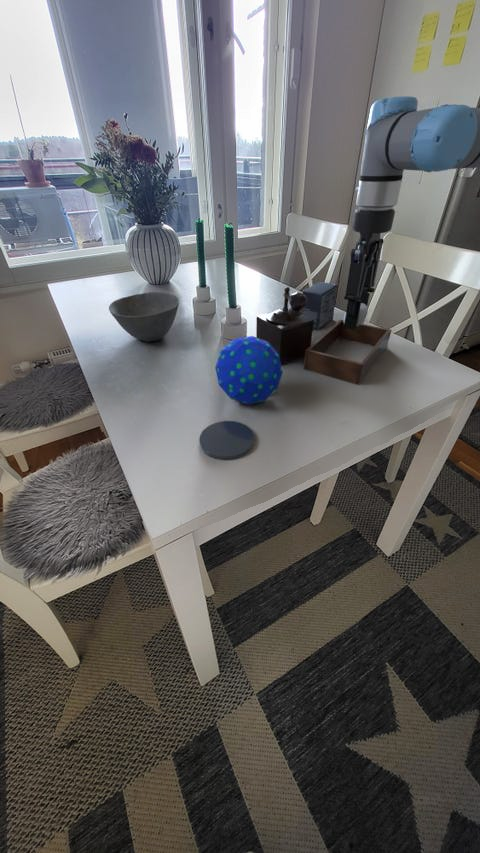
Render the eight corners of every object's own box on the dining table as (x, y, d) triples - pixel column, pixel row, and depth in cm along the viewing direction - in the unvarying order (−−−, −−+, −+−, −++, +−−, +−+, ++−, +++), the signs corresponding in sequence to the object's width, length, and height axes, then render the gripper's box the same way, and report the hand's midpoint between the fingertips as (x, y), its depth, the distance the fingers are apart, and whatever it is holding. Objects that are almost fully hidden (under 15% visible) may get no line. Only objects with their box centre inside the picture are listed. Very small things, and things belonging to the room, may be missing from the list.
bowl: (174, 320, 109) (169, 287, 103) (191, 343, 96) (187, 307, 89) (113, 331, 104) (104, 297, 97) (123, 357, 90) (113, 320, 84)
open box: (386, 347, 91) (391, 329, 88) (358, 385, 77) (363, 365, 74) (337, 336, 97) (340, 319, 94) (303, 369, 83) (305, 350, 80)
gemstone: (381, 312, 79) (370, 302, 76) (367, 337, 80) (355, 327, 77) (360, 309, 84) (349, 298, 81) (347, 332, 85) (336, 323, 82)
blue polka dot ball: (252, 335, 80) (273, 315, 66) (278, 390, 82) (305, 382, 67) (198, 360, 77) (208, 346, 63) (226, 417, 79) (242, 415, 64)
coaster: (264, 435, 64) (264, 432, 64) (233, 467, 58) (233, 464, 57) (221, 417, 69) (221, 414, 68) (188, 446, 62) (187, 443, 62)
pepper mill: (252, 351, 91) (252, 279, 80) (285, 340, 96) (289, 271, 85) (290, 375, 81) (296, 297, 70) (325, 362, 86) (336, 287, 74)
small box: (314, 314, 110) (318, 280, 103) (333, 319, 107) (338, 283, 100) (298, 326, 103) (301, 290, 97) (318, 330, 100) (323, 294, 94)
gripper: (370, 202, 74) (351, 309, 89) (339, 212, 63) (323, 334, 77) (407, 203, 71) (381, 315, 85) (381, 214, 59) (356, 341, 74)
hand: (354, 324), depth 81 cm, fingers closed on gemstone, 5 cm apart
